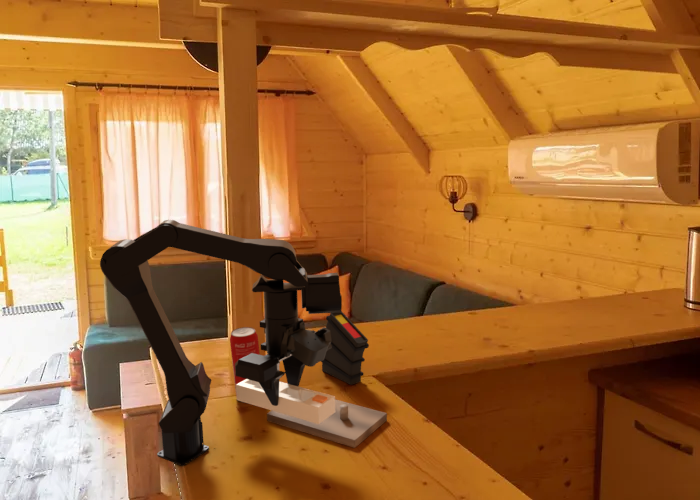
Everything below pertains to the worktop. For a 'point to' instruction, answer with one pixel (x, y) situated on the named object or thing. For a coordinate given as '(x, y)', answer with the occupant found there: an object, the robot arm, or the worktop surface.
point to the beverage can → (243, 346)
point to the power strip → (289, 400)
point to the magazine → (344, 349)
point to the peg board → (337, 423)
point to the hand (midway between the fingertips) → (284, 399)
